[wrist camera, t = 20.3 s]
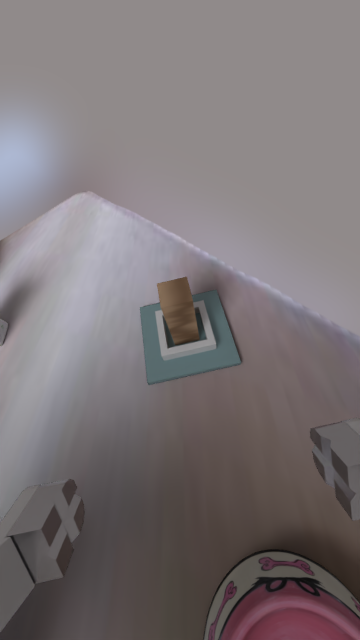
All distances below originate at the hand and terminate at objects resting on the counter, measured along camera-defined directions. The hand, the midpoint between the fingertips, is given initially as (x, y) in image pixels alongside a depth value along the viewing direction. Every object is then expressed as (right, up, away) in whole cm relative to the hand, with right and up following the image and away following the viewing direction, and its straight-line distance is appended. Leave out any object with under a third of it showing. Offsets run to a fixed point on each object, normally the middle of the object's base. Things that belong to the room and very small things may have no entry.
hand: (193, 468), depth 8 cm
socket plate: (+1, +2, +36) cm, 36 cm away
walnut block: (+1, +3, +35) cm, 35 cm away
